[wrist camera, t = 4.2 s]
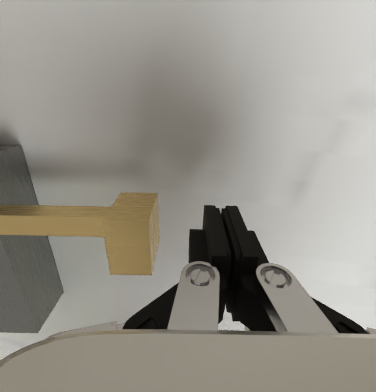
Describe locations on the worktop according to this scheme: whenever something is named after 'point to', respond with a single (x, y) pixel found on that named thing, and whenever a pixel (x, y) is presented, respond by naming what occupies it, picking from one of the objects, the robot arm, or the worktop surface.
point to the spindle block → (24, 256)
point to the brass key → (97, 228)
